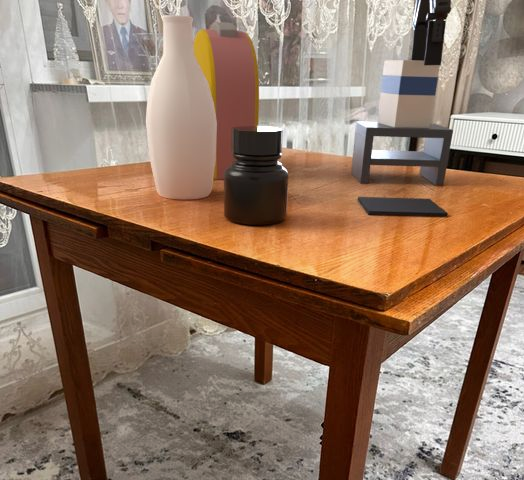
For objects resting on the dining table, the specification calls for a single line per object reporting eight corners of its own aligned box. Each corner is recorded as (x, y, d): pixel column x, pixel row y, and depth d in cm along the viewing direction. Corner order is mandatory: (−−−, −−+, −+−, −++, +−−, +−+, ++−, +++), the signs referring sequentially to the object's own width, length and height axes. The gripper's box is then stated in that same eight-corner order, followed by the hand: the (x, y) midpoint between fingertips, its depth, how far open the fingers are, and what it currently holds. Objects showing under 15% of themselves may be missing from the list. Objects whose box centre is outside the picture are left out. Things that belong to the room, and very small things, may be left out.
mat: (428, 202, 90) (429, 198, 90) (447, 217, 82) (448, 213, 81) (357, 200, 90) (357, 196, 90) (368, 214, 81) (368, 210, 81)
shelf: (426, 174, 114) (434, 123, 110) (443, 185, 104) (453, 129, 99) (351, 172, 114) (356, 121, 109) (360, 183, 103) (366, 127, 99)
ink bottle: (300, 218, 78) (306, 129, 72) (263, 230, 72) (266, 134, 66) (248, 207, 83) (249, 123, 78) (209, 218, 77) (207, 127, 71)
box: (410, 123, 109) (419, 61, 104) (430, 128, 101) (440, 61, 96) (376, 122, 108) (384, 60, 103) (394, 127, 100) (403, 60, 95)
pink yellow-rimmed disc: (258, 178, 105) (262, 20, 93) (212, 179, 103) (210, 17, 90) (231, 161, 123) (232, 26, 111) (192, 161, 120) (187, 24, 108)
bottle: (139, 198, 87) (124, 12, 75) (165, 185, 96) (156, 19, 85) (205, 203, 85) (201, 13, 73) (225, 190, 94) (224, 20, 82)
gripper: (404, -58, 101) (393, 70, 110) (432, -102, 79) (416, 63, 88) (445, -59, 100) (431, 69, 110) (485, -103, 78) (463, 63, 87)
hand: (424, 67), depth 99 cm, fingers open, 13 cm apart
